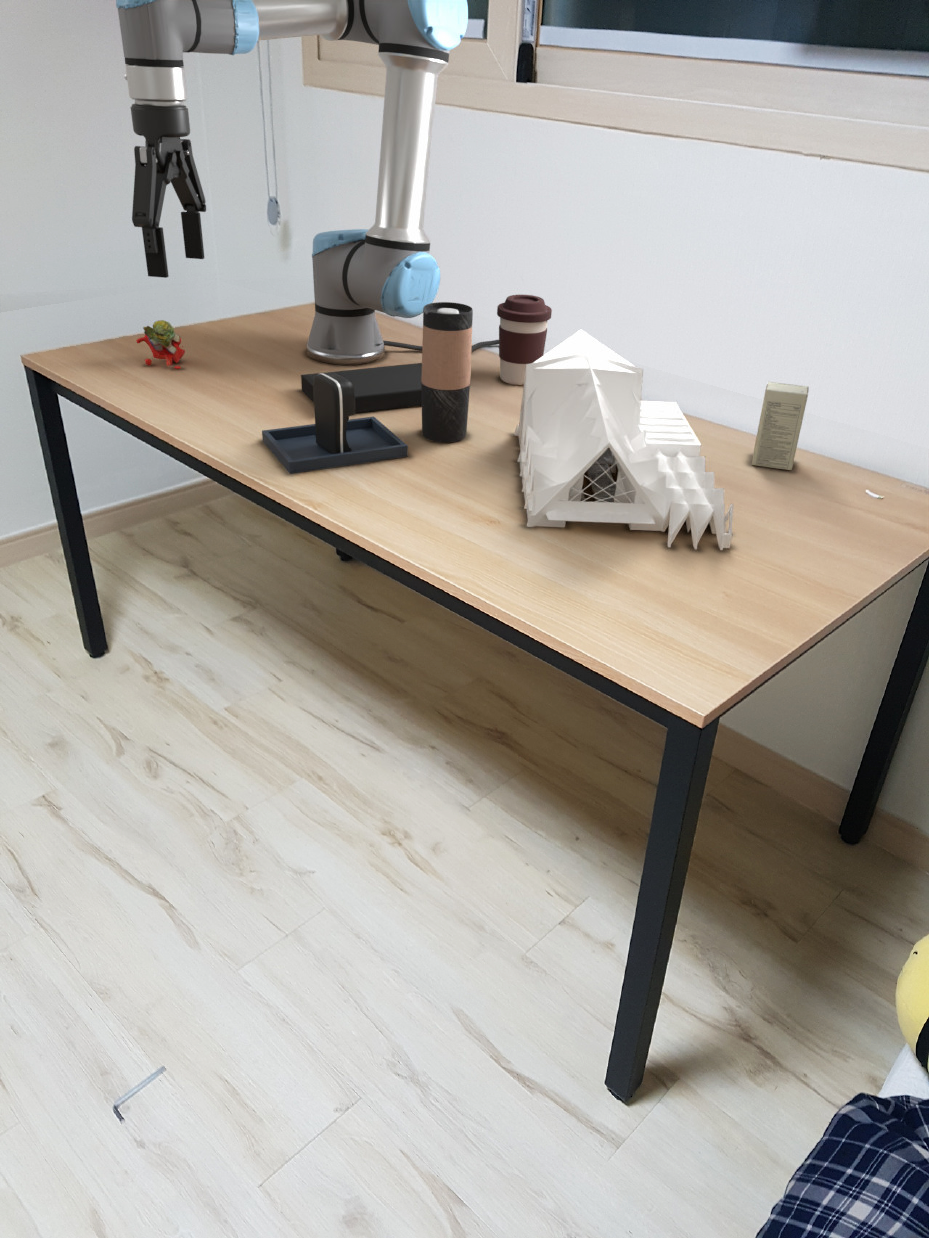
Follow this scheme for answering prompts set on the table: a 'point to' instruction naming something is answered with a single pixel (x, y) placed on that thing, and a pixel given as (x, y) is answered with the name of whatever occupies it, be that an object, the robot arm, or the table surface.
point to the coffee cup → (521, 335)
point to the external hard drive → (379, 386)
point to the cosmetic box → (780, 425)
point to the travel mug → (446, 370)
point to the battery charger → (332, 411)
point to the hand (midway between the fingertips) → (177, 267)
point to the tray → (305, 455)
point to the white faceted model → (638, 440)
